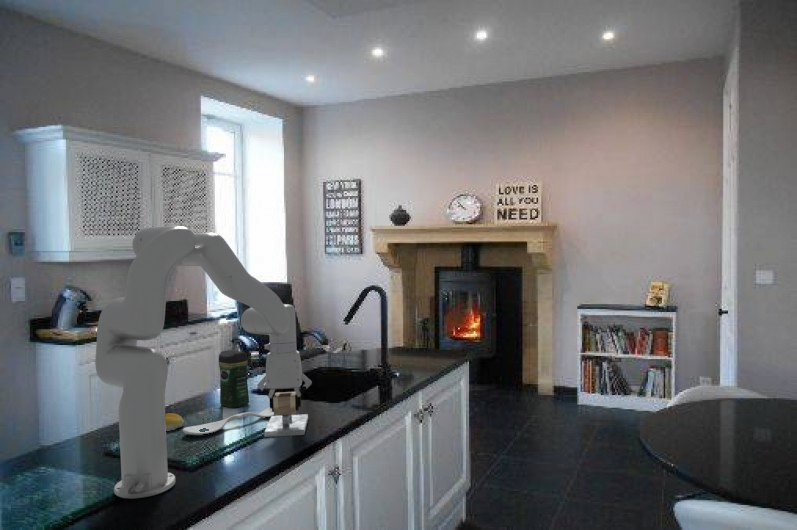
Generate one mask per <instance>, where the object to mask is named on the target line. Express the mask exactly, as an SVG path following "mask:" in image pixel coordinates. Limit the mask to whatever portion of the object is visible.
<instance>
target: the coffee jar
mask: <svg viewBox="0 0 797 530" xmlns="http://www.w3.org/2000/svg"><path fill="white" fill-rule="evenodd" d="M218 366H219V367H218V368H219V378H220V380H219V381H220V382H219V383H220V385H219V386H220V389H219V403H220V404H219V405H221V406H223V407H227V408H241V407H242V408H243V407H245V406H246V405H248V404H249V403H250V395H249V386H248V385H249V384H248V374H247V368H248V356H247V353H246V352H245V351H239V350H233V349H228V350H223V351H221V352H220V353H219V355H218Z"/></svg>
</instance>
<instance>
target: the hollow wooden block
mask: <svg viewBox="0 0 797 530" xmlns="http://www.w3.org/2000/svg"><path fill="white" fill-rule="evenodd" d="M295 397H296V392H295V391H285V392H283V391H281V392H280V391H279V392H274V397H273V406H274V416H282V415H297V414H296V413H297V411H296V404H295Z"/></svg>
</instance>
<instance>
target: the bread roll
mask: <svg viewBox="0 0 797 530" xmlns="http://www.w3.org/2000/svg"><path fill="white" fill-rule="evenodd" d="M165 421H166V429H167V428H173V427H178V426H180V425H182V424H183V423H184V424H185V420H184V419H183V417H182V416H181V415H180V414H178V413H174V412H173V413H172V412H171V413H170V412H169V413H165Z"/></svg>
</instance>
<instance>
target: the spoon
mask: <svg viewBox="0 0 797 530" xmlns="http://www.w3.org/2000/svg"><path fill="white" fill-rule="evenodd" d="M249 416H251V417H256V418H259V417H270V418H271V416H274V412H272V408H270V405H269V406H268V407H266V408H265V409H263V410H262V411H261V412H259V413H256V412H253V411H252V412H251V411H248V412H247V411H246V412H241V413H236V414H234V415H231V416H229V417H227V418H224V419H222V420H219V421H218V420H217V421H213V422H208V423H203V424H198V425H191V426H187V427H182V432H183V433H184V434H186V435H190V436H191V435H192V436H204V435H203V434H208V435H210V434H209V433H211V434H214V433H216V432H217V431H220V430H221V429H222V428H224V427H225V426H226V424H228V423H229V422H230V421H232V420H235V419H242V418H244V417H249ZM203 428H206V429H209V431H205V432H200V431H199V430H200V429H203ZM213 432H214V433H213Z"/></svg>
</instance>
